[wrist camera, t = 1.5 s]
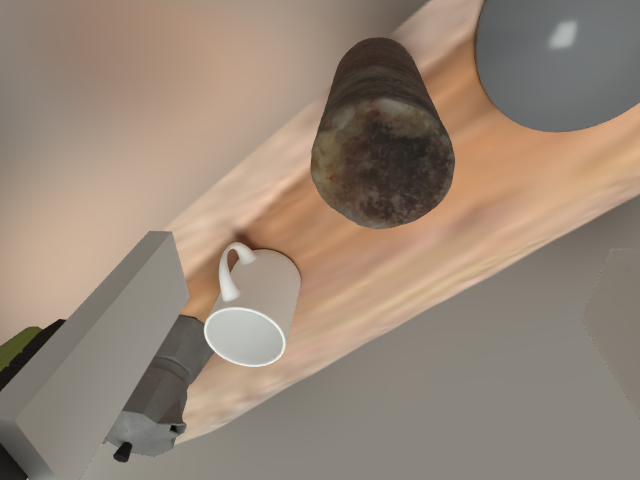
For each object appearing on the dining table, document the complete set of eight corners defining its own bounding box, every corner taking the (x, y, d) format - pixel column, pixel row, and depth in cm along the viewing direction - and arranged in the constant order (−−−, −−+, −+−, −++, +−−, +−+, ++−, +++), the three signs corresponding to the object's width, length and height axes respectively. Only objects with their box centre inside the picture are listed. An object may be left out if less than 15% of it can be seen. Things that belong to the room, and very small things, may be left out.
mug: (273, 214, 45) (248, 272, 36) (312, 293, 50) (298, 360, 41) (209, 233, 47) (170, 291, 38) (252, 306, 53) (227, 372, 44)
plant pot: (92, 341, 61) (41, 406, 51) (70, 376, 67) (20, 440, 57) (17, 300, 58) (-52, 362, 48) (0, 341, 64) (-65, 402, 54)
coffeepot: (211, 305, 54) (147, 431, 39) (239, 353, 58) (191, 481, 43) (119, 321, 58) (29, 440, 43) (152, 364, 62) (81, 485, 47)
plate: (496, -94, 28) (500, -97, 27) (746, -110, 26) (760, -113, 25) (460, 127, 37) (462, 131, 36) (647, 128, 35) (655, 132, 34)
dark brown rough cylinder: (429, 106, 36) (473, 210, 20) (355, 137, 39) (338, 253, 22) (401, 20, 33) (425, 58, 16) (322, 60, 35) (272, 128, 19)
